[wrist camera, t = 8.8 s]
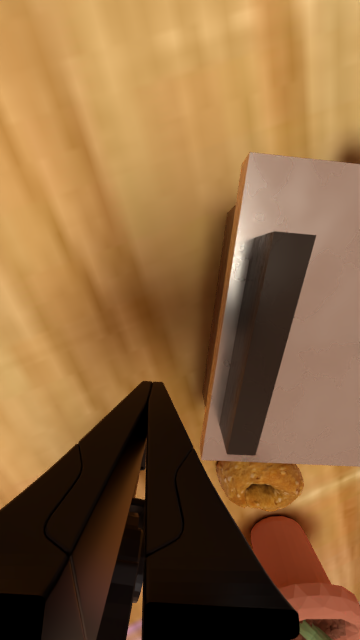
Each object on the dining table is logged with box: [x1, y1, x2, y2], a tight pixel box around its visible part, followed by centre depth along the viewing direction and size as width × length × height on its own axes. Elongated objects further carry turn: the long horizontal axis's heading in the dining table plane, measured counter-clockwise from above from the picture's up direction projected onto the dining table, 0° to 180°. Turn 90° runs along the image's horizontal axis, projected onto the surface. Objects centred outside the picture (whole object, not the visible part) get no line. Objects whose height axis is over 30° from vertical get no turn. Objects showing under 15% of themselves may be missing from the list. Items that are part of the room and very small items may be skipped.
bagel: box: [217, 461, 304, 512], centre depth 25 cm, size 10×11×5 cm
